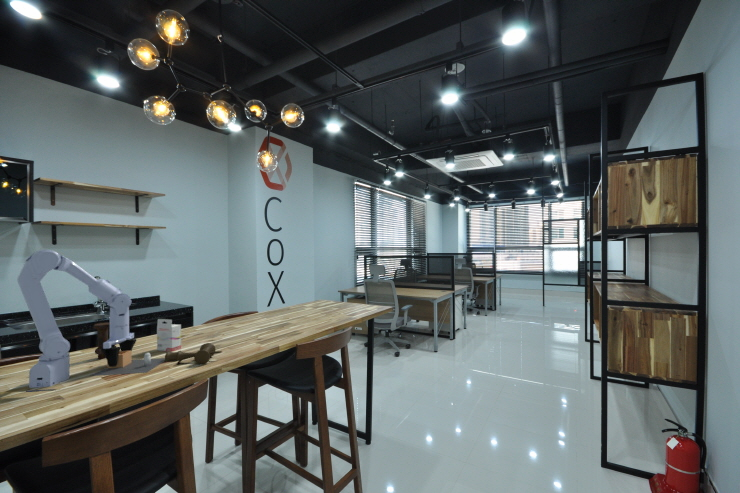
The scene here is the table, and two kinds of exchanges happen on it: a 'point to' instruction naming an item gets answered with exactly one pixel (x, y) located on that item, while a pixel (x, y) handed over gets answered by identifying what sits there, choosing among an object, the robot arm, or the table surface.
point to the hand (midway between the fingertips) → (119, 362)
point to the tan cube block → (122, 359)
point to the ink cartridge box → (168, 336)
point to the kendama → (193, 354)
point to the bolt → (101, 337)
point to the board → (133, 366)
